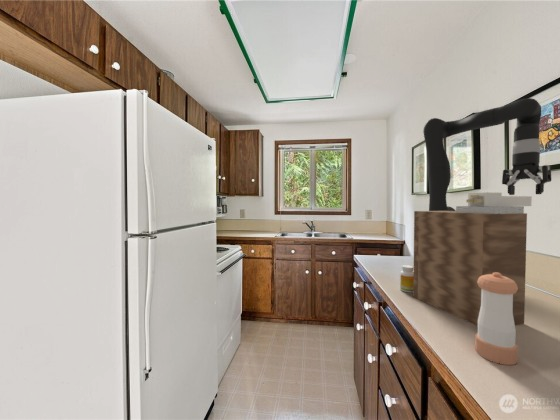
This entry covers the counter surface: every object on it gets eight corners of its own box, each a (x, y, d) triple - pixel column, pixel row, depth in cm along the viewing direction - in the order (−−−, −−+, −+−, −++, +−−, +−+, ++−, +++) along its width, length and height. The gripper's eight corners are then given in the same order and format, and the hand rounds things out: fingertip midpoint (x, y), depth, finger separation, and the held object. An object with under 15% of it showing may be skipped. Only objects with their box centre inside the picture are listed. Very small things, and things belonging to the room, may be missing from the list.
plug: (463, 206, 75) (463, 193, 75) (513, 205, 81) (514, 193, 81) (481, 206, 70) (481, 192, 70) (533, 206, 76) (534, 193, 76)
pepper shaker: (467, 346, 60) (468, 268, 60) (494, 345, 61) (496, 268, 60) (495, 366, 53) (497, 278, 53) (526, 364, 54) (528, 277, 53)
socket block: (456, 212, 78) (456, 206, 78) (482, 212, 81) (482, 205, 81) (494, 214, 68) (494, 206, 68) (523, 213, 71) (523, 206, 71)
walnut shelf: (413, 296, 93) (414, 211, 92) (442, 292, 96) (443, 210, 95) (488, 331, 68) (491, 214, 67) (524, 324, 71) (526, 213, 71)
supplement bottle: (417, 293, 96) (417, 268, 96) (402, 292, 97) (402, 267, 97) (412, 288, 101) (412, 265, 101) (398, 287, 102) (398, 264, 102)
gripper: (498, 155, 102) (497, 195, 102) (543, 148, 88) (541, 194, 88) (510, 156, 104) (510, 195, 104) (556, 149, 90) (555, 194, 90)
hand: (524, 194), depth 96 cm, fingers open, 8 cm apart
